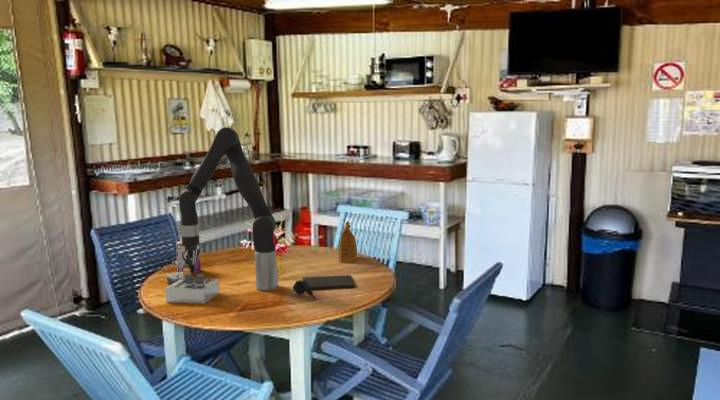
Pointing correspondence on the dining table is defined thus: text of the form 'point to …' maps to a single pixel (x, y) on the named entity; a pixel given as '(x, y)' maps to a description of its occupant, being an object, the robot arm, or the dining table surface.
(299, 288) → the power plug
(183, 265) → the candy bar box
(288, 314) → the dining table surface
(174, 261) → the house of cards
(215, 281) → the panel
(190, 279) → the breaker mid
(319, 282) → the hardcover book
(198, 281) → the breaker left
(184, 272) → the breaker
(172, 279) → the electrical switch
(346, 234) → the coffee package
